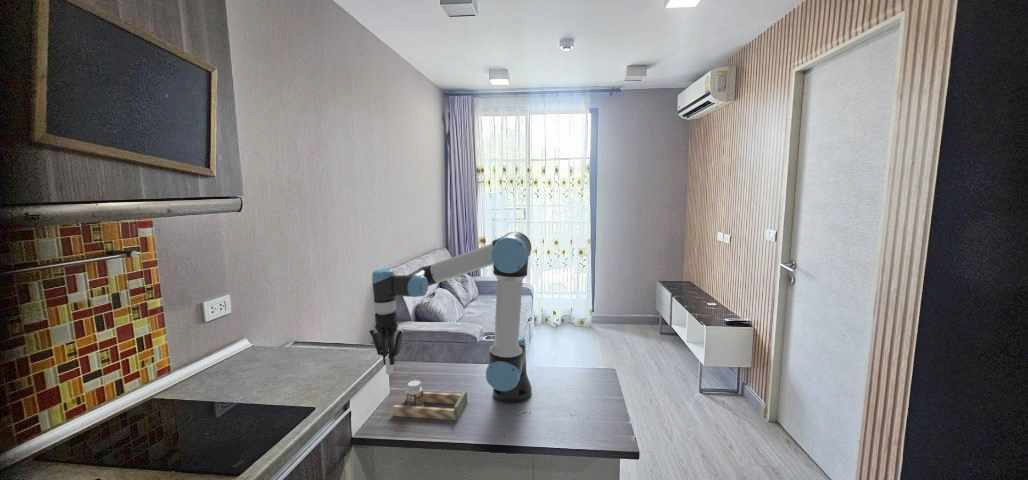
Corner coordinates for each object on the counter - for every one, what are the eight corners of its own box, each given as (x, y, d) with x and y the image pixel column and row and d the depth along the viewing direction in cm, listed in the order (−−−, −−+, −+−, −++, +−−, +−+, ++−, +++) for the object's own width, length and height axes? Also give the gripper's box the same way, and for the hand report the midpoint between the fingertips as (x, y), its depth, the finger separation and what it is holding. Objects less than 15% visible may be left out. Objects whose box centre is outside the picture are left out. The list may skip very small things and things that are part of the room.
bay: (467, 402, 151) (466, 390, 150) (458, 420, 139) (457, 406, 139) (407, 399, 155) (406, 387, 154) (393, 415, 144) (392, 402, 143)
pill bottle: (419, 413, 145) (418, 387, 144) (405, 411, 146) (403, 386, 145) (426, 404, 150) (424, 380, 149) (412, 403, 152) (410, 379, 150)
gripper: (406, 308, 147) (410, 369, 151) (374, 307, 150) (378, 367, 153) (397, 315, 140) (401, 378, 143) (363, 314, 142) (368, 376, 146)
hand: (389, 372), depth 148 cm, fingers closed
